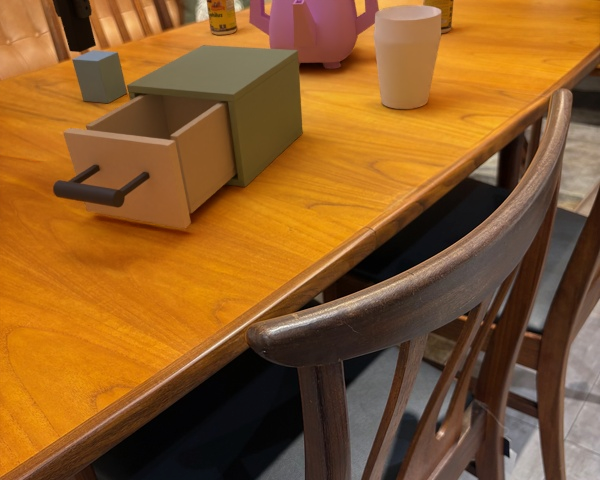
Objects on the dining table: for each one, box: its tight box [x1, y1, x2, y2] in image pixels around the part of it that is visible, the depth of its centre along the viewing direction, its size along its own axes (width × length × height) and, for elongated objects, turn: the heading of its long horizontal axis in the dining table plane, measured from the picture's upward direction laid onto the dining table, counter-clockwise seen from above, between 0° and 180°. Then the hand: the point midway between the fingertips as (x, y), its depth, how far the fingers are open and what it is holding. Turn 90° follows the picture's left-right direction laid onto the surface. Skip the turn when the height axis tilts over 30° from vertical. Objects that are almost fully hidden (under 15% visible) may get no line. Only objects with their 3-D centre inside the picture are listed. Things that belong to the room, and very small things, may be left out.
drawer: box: [52, 93, 237, 230], centre depth 64 cm, size 21×12×9 cm, turn 156°
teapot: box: [248, 0, 380, 70], centre depth 104 cm, size 19×18×15 cm
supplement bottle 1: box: [206, 0, 238, 36], centre depth 126 cm, size 6×6×10 cm
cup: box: [373, 4, 442, 110], centre depth 85 cm, size 9×9×12 cm
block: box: [72, 49, 128, 104], centre depth 97 cm, size 5×5×6 cm
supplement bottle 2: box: [422, 0, 455, 34], centre depth 116 cm, size 6×6×10 cm
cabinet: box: [126, 44, 304, 188], centre depth 75 cm, size 17×14×11 cm
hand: (83, 48), depth 69 cm, fingers closed
